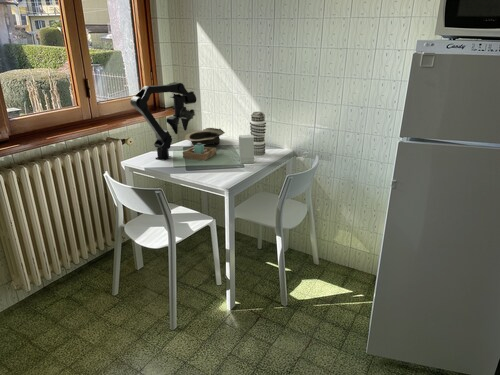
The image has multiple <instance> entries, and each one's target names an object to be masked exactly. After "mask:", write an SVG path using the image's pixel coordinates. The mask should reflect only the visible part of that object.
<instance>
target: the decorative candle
mask: <svg viewBox="0 0 500 375" xmlns="http://www.w3.org/2000/svg"><path fill="white" fill-rule="evenodd" d="M250 117H251V118H250V119H251V120H250V121H249V125H250V126H249V127H250V130H249V131H250V132H249V134H250V135H253V136H254V158H263V157H265V156H266V141H265V140H266V139H265V137H266V130H267V129H266V127H267V125H266V124H267V122H266V118H265V117H266V114H264V112H263V111H253V112H252V113H251V114H250Z"/></svg>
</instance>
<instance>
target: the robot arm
mask: <svg viewBox="0 0 500 375" xmlns="http://www.w3.org/2000/svg"><path fill="white" fill-rule="evenodd" d="M162 93H163V94H164V93H171V94H170V95H169V99H170V98H172V99H173V107H172V110H174V113H173V115H172V116H169V117H166V119H165V120H166V124H169V126H170V127H171V128H172V130H173V132H174V134H175V135H178V132H179V131H178V130H179V129H178V127H179V124H180V120H181V124H182V126H183V130H184V132H186V131H187V129H188V125H189V123H190V121H191V120H193V118H194V116H196V113H195V109H193V108H192V109H191V108H190V109H187V107H186V106H185V105H191V104H195V103H197V97H196V94H195V91H193V90H190V91H188V90H187V89H186V88H185V85H184V83H183V82H176V81H174V82H170V83H167V84H160V85H159V84H158V85H144V86H142V88H141V89H140V90H139V91H138V92H137V93H136V94H135V95H134V96H131V97H130V98H131V99H130V105H131V106H132V107H133V108H134V109H135V110H136V111H137V112H139V113H140V114H141V116H142V117H143V118H144V119H145V121H146V122H147V124H148V125H149V127H150V128H151V129H152V131H153V132H154V134H155V138H156V140H155V142H154V143H153V145H154V148H156V151H157V157H155V159H156V160H163V161H166V160H168V159H171V158H172V155H170V152H169V149H171V145H172V142H173V138H172V137H173V136H172V135H171V133H170V132H169V130H166V129H163V128H162V127H161V125H160V124H159V122H158V120H156V118H155V117H154V115H153V114H152V112H151V111H150V109H149V104H148V102H149V100H150V97H151V95H152V94H162Z"/></svg>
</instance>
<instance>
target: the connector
mask: <svg viewBox="0 0 500 375" xmlns="http://www.w3.org/2000/svg"><path fill="white" fill-rule="evenodd" d="M193 147H194V148H195V153H199V154H201V152H202V151H204V147H205V145H204V144H201V143H197V145H195V146H194V145H193Z"/></svg>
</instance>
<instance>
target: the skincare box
mask: <svg viewBox="0 0 500 375" xmlns="http://www.w3.org/2000/svg"><path fill="white" fill-rule="evenodd" d="M238 149H239V150H238V151H239V164H255V157H254V136H253V135H251V134H240V135H239V134H238Z"/></svg>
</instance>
